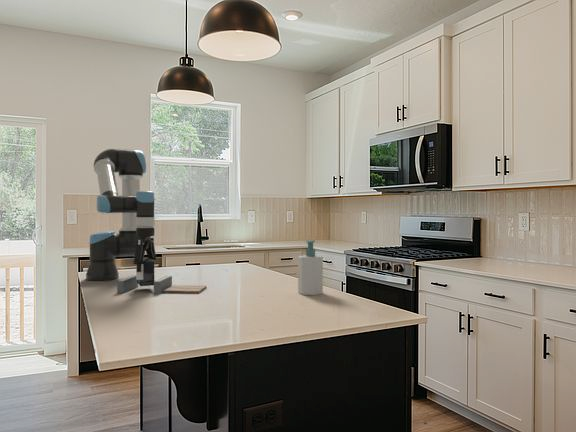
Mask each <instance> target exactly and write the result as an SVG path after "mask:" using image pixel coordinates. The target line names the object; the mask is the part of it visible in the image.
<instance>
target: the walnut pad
mask: <svg viewBox="0 0 576 432" xmlns="http://www.w3.org/2000/svg"><path fill="white" fill-rule="evenodd" d="M206 289H207V285H176V284H175V285H173V284H172V286H171V287H169V288H167V289H165V290H164V291H163V292H162V293H163V294H193V295H194V294H200V293H202V292H203V291H204V290H206Z"/></svg>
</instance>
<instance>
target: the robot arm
mask: <svg viewBox="0 0 576 432" xmlns="http://www.w3.org/2000/svg"><path fill="white" fill-rule="evenodd" d="M93 171H94V173H95V174H96V175H97V182H98V183H97V184H98V189H99V194H100V195H98V196H97V197H96V211H97V212H98V213H101V214H102V213H105V214H118V213H119V214H120V213H121V215H122V217H121V222H122V223H121V225H122V226H121V227H120V228H119V230H118V233H116V231H115V230H107V231H99V232H96V233H95V232H94V233H92V234H90V235H89V243H88V245H89V265H88V267H87V271H86V274H85V280H87V281H110V280H116V279H119V278H120V277H119V274H120V273H119V271H118V267H117V264H116V258H118V257H134V259H133V265H136V270H135V271H136V272H135V273H136V274H135V275H136V280H143V264H142V262H143V259H145V254H146V255H147V258H151V259H152V260H153V261H154V262H155V261H156V260H157V255H156V249H155V248H156V247H155V239H154V236H155V226H156V225H155V200H156V198H155V192H154V191H151V190H150V191H149V190H145V191H144V190H140V189H141V188H140V184H141V183H140V182H141V179H142V178H143V175H144V174H146V172H147V163H146V157H145V154H144V152H143V151H142V150H137V149H136V150H135V149H121V148H118V149H117V148H109V149H108V148H107V149H105V150H102V152H100V153H99V154H97V156H96V157H95V158H94V162H93ZM115 173H118V177H119V178H120V179H121V195H119V191H118V185H117V182H116V176H115Z"/></svg>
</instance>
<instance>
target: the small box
mask: <svg viewBox="0 0 576 432" xmlns="http://www.w3.org/2000/svg"><path fill="white" fill-rule="evenodd" d="M142 264H143V280H137V283H138V286H140V287H150V286H154V281H156V280H155V260H154V261H153V260H152V259H151V258H148V257H147V258H144V259H143V262H142Z"/></svg>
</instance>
